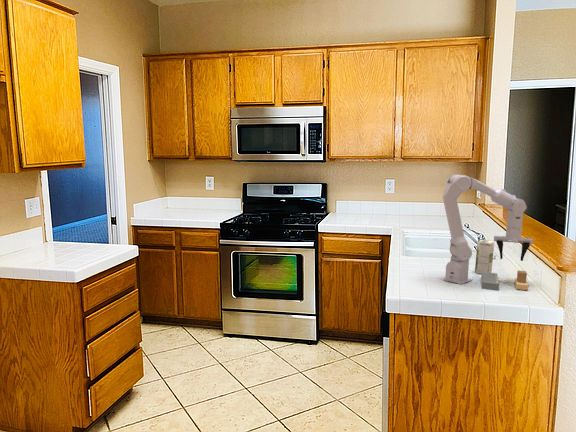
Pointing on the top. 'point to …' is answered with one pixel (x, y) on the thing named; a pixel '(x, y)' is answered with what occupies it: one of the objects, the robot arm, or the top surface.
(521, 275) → the stub
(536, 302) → the top surface
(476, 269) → the syrup box
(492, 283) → the grey block
